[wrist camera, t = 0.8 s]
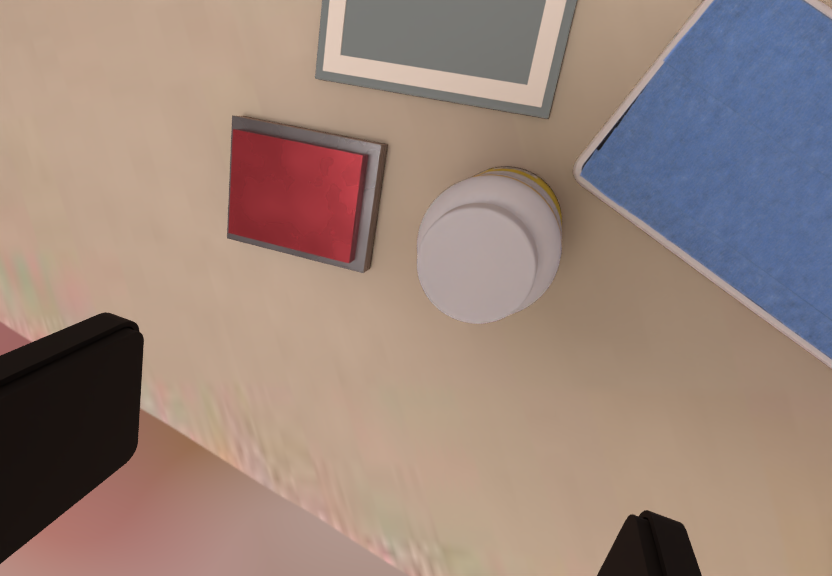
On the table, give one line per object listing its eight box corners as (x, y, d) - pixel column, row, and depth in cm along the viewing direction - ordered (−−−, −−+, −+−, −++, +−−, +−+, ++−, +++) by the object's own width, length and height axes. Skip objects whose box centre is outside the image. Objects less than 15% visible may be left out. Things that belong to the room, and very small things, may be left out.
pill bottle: (457, 275, 32) (403, 346, 21) (447, 171, 30) (382, 191, 20) (565, 270, 30) (564, 346, 19) (560, 158, 28) (556, 174, 18)
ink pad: (387, 144, 31) (375, 145, 29) (370, 268, 34) (357, 276, 32) (243, 116, 33) (223, 115, 31) (237, 234, 36) (218, 240, 34)
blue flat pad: (564, 172, 29) (564, 174, 28) (738, -48, 24) (747, -57, 23) (847, 380, 28) (860, 391, 27) (1088, 194, 23) (1117, 198, 22)
